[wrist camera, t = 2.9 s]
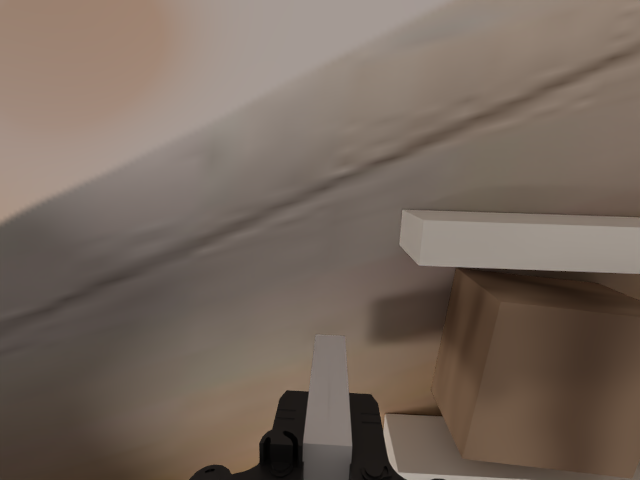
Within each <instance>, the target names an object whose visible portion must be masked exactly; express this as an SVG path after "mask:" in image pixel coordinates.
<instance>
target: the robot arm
mask: <svg viewBox="0 0 640 480" xmlns="http://www.w3.org/2000/svg"><path fill="white" fill-rule="evenodd" d="M259 450H260V463H259V464H258V465H257V466H255V467H253V468H252V469H250V470H247V471H244V472H240V473H236V474H231V473H230V471H229V469H227V468H226V467H224V466H222V465H211V466H207V467H204V468H202V469H201V470H199V471H197V472H196V473H195V474H194V475H193V476H192V477H191V478H190V479H189V480H407V479H404V478H403V477H402V476H400V475H399V474H398V473H397V472H396V471H395V470H394V469H393V467H392V466H391V464H390V462H389V459H388V455H387V450H386V444H385V439H384V434H383V428H382V425H381V418H380V413H379V407H378V403H377V402H376V400H375V399H374V398H373V396H372V395H371V394H357V393H349V388H348V373H347V357H346V342H345V336H338V335H318V334H316V336H315V344H314V353H313V362H312V370H311V379H310V387H309V392H306V391H289V390H287V391H286V392H285V393H284V394H283V395H282V397H281V398H280V400H279V404H278V408H277V412H276V416H275V420H274V424H273V428H272V430H270V431H268V432H267V433H266V434H265V435H264V436H263V437H262V439H261V441H260V443H259ZM432 480H445V479H436V478H434V479H432Z"/></svg>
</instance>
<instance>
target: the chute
mask: <svg viewBox="0 0 640 480" xmlns="http://www.w3.org/2000/svg"><path fill="white" fill-rule="evenodd" d="M399 245H400V246H401V247H402V248H403V249H404V250H405V252H406V253H407V254H408V255H409V256H410V257H411V258H412V259H413V260H414V261H415V262H416V263H417V264H418V265H419V266H443V267H469V268H496V269H523V270H549V271H576V272H603V273H629V274H640V217H616V216H585V215H555V214H524V213H494V212H463V211H433V210H402V219H401V231H400V243H399ZM383 434H384V439H385V444H386V450H387V455H388V459H389V462H390V464H391V466H392V467H393V469H394V470H395V471H396V472H397V473H398V474H399V475H400V476H402V477H403V478H404V479H407V480H432V479H434V478H436V479H445V480H640V460H639V463H638V466H637V468H636V471H635V473H634V476H633V478H632V479H630V478H622V477H613V476H605V475H596V474H588V473H579V472H571V471H562V470H554V469H545V468H537V467H529V466H520V465H512V464H503V463H495V462H486V461H478V460H469V459H462V457H461V455H460V453H459V450H458V448H457V446H456V444H455V442H454V439H453V437H452V435H451V433H450V431H449V429H448V426H447V424H446V422H445V420H444V418H443V416H424V415H404V414H385V420H384V432H383Z"/></svg>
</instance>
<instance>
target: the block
mask: <svg viewBox="0 0 640 480" xmlns="http://www.w3.org/2000/svg"><path fill="white" fill-rule="evenodd" d="M431 392H432V394H433V396H434V398H435V400H436V402H437V405H438V407H439V409H440V411H441V413H442V415H443V418H444V420H445V422H446V424H447V426H448V429H449V431H450V433H451V435H452V437H453V439H454V442H455V444H456V446H457V448H458V450H459V453H460V455H461V457H462V459H469V460H478V461H486V462H495V463H503V464H512V465H520V466H529V467H537V468H545V469H554V470H562V471H571V472H579V473H588V474H596V475H605V476H613V477H622V478H630V479H632V478H633V476H634V473H635V471H636V468H637V466H638V463H639V460H640V301H639V300H637V299H634V298H632V297H629V296H627V295H625V294H622V293H620V292H617V291H615V290H613V289H610V288H608V287H605V286H603V285H600V284H598V283H591V282H582V281H573V280H564V279H555V278H546V277H537V276H528V275H519V274H510V273H501V272H492V271H482V270H473V269H464V268H456V270H455V275H454V280H453V285H452V290H451V295H450V299H449V304H448V309H447V314H446V319H445V324H444V329H443V333H442V338H441V343H440V348H439V353H438V358H437V363H436V367H435V372H434V377H433V382H432V387H431Z"/></svg>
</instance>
